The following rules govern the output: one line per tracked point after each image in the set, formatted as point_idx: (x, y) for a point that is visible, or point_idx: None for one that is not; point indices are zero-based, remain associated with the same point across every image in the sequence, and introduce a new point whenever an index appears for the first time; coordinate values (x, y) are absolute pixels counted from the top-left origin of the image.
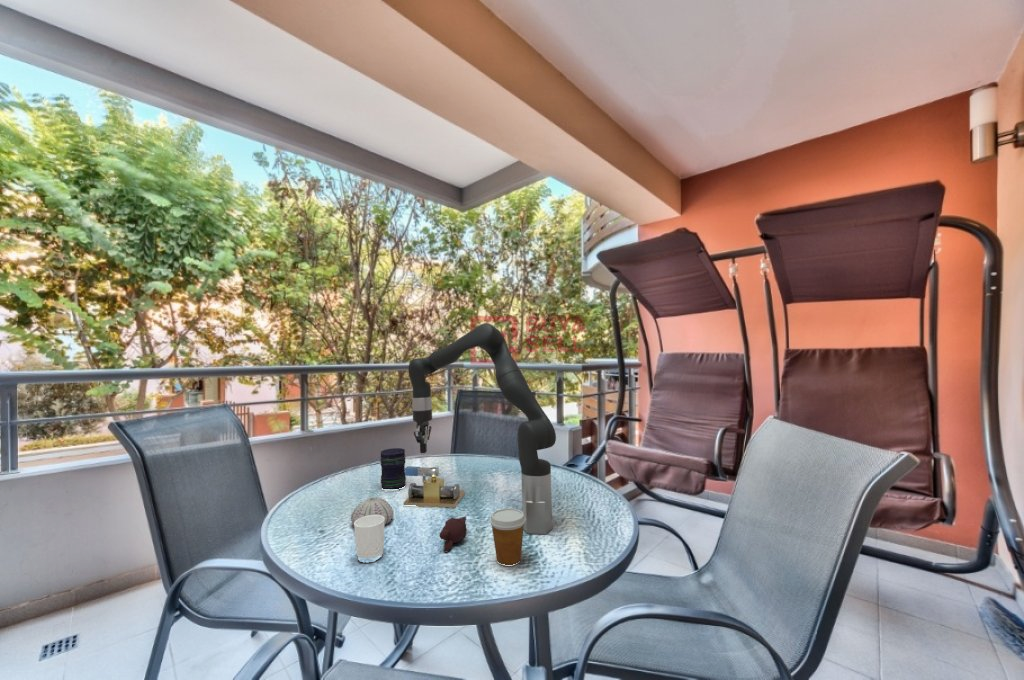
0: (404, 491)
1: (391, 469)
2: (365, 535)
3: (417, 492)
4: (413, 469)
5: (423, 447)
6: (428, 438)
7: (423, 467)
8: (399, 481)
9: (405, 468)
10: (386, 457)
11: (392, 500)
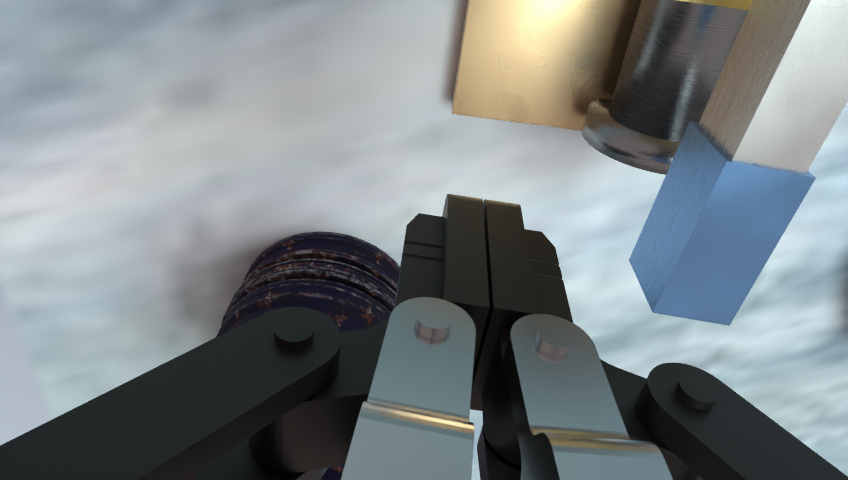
0: (413, 215)
1: None
2: None
3: None
4: (778, 221)
5: (565, 292)
6: (309, 338)
7: (764, 104)
8: (383, 294)
9: (732, 316)
10: None
11: (597, 248)
